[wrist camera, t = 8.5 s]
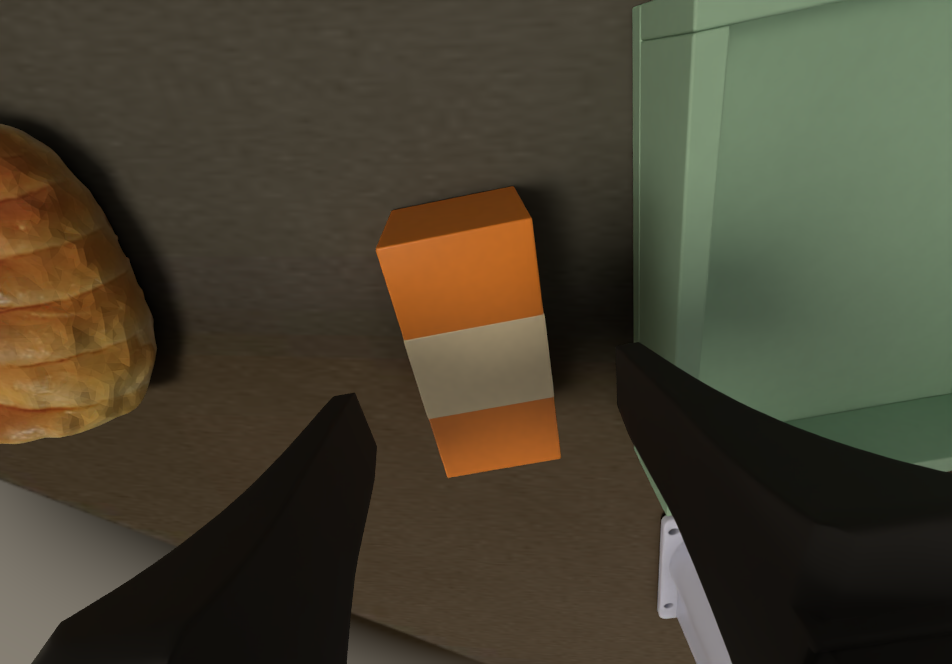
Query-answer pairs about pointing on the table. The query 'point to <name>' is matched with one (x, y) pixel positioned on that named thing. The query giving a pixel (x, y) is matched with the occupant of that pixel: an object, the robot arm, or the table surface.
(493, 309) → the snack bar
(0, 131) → the pastry
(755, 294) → the tub
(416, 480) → the table surface
